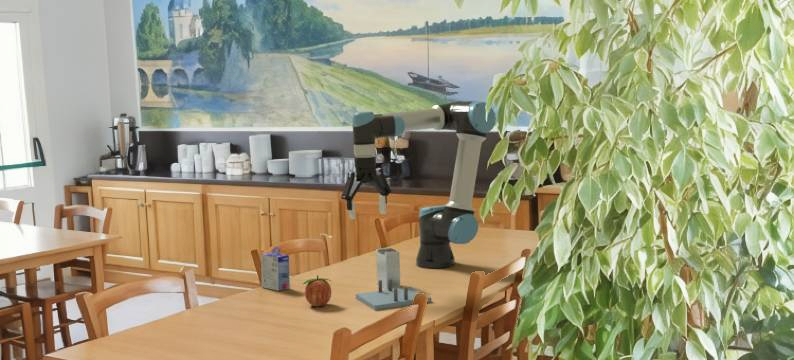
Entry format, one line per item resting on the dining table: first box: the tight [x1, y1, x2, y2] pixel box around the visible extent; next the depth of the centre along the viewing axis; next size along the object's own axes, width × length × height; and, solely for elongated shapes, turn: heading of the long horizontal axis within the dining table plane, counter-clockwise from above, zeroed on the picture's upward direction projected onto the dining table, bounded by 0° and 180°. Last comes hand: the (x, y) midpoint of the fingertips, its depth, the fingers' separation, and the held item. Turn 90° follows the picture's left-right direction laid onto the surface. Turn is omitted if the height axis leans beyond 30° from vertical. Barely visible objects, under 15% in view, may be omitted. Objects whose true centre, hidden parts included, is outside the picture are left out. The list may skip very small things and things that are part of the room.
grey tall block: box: [375, 247, 401, 290], centre depth 297 cm, size 5×9×13 cm, turn 23°
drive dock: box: [355, 279, 432, 311], centre depth 278 cm, size 20×17×6 cm
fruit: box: [302, 274, 332, 307], centre depth 274 cm, size 9×10×10 cm
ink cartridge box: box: [260, 246, 291, 292], centre depth 299 cm, size 10×6×14 cm, turn 48°
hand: (367, 216), depth 295 cm, fingers open, 13 cm apart
